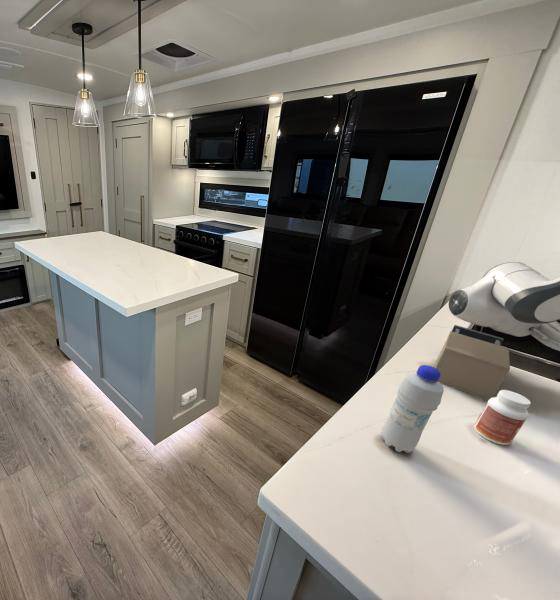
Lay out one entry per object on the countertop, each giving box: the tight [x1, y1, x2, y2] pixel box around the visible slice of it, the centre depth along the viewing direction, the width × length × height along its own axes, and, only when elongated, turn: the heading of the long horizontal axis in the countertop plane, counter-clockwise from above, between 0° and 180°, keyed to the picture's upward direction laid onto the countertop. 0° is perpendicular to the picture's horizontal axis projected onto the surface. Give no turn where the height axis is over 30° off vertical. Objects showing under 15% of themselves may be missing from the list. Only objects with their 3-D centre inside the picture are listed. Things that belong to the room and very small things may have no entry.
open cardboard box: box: [433, 330, 511, 402], centre depth 88 cm, size 15×13×11 cm
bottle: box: [380, 364, 445, 454], centre depth 63 cm, size 7×7×20 cm
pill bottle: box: [473, 389, 532, 446], centre depth 69 cm, size 6×6×11 cm
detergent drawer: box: [451, 324, 505, 346], centre depth 96 cm, size 18×11×9 cm, turn 134°
